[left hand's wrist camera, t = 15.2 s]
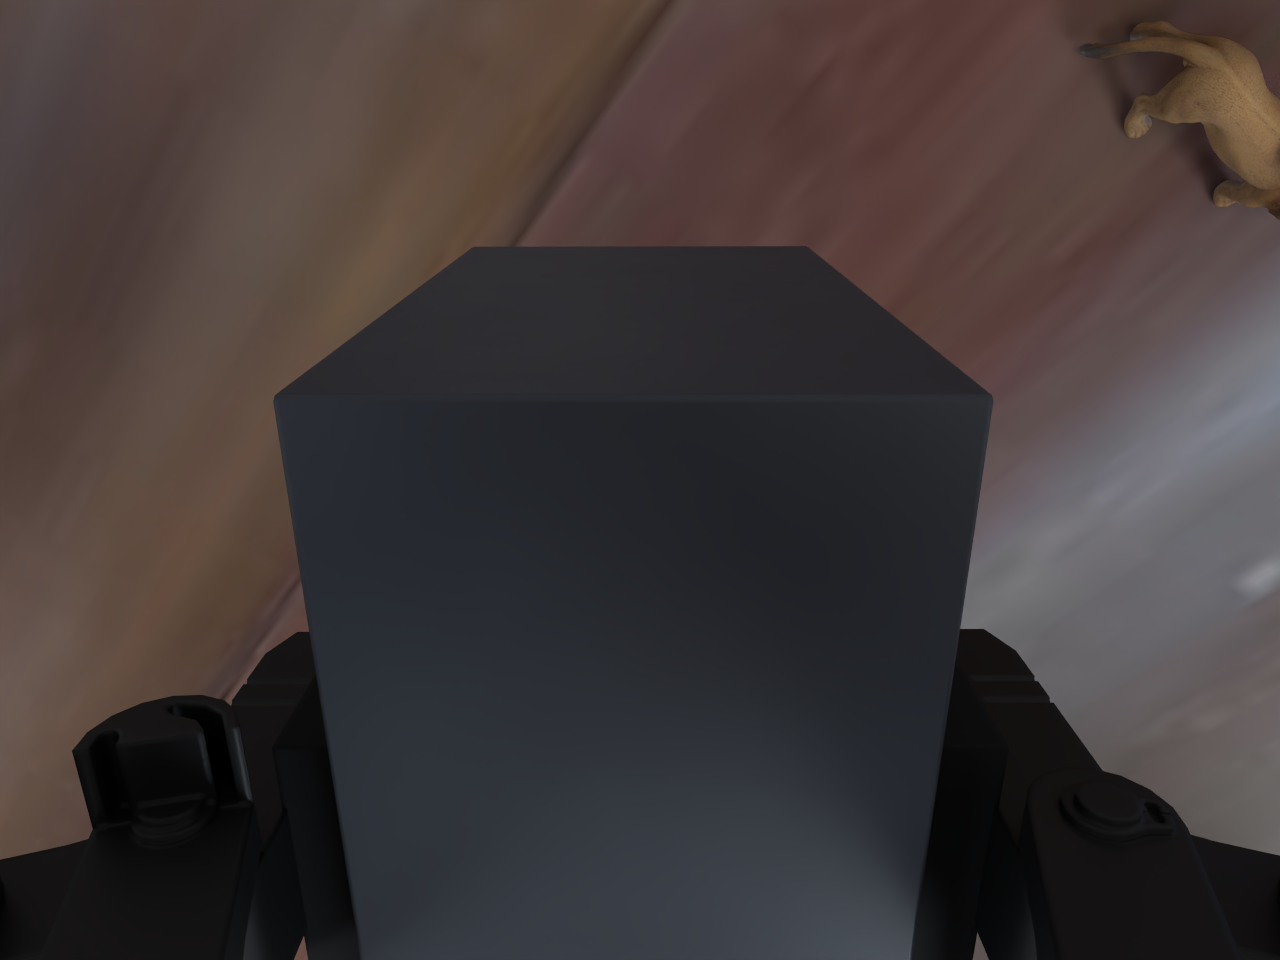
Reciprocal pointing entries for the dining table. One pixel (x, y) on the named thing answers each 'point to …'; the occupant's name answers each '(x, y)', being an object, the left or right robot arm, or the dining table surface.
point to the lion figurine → (1212, 107)
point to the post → (634, 605)
